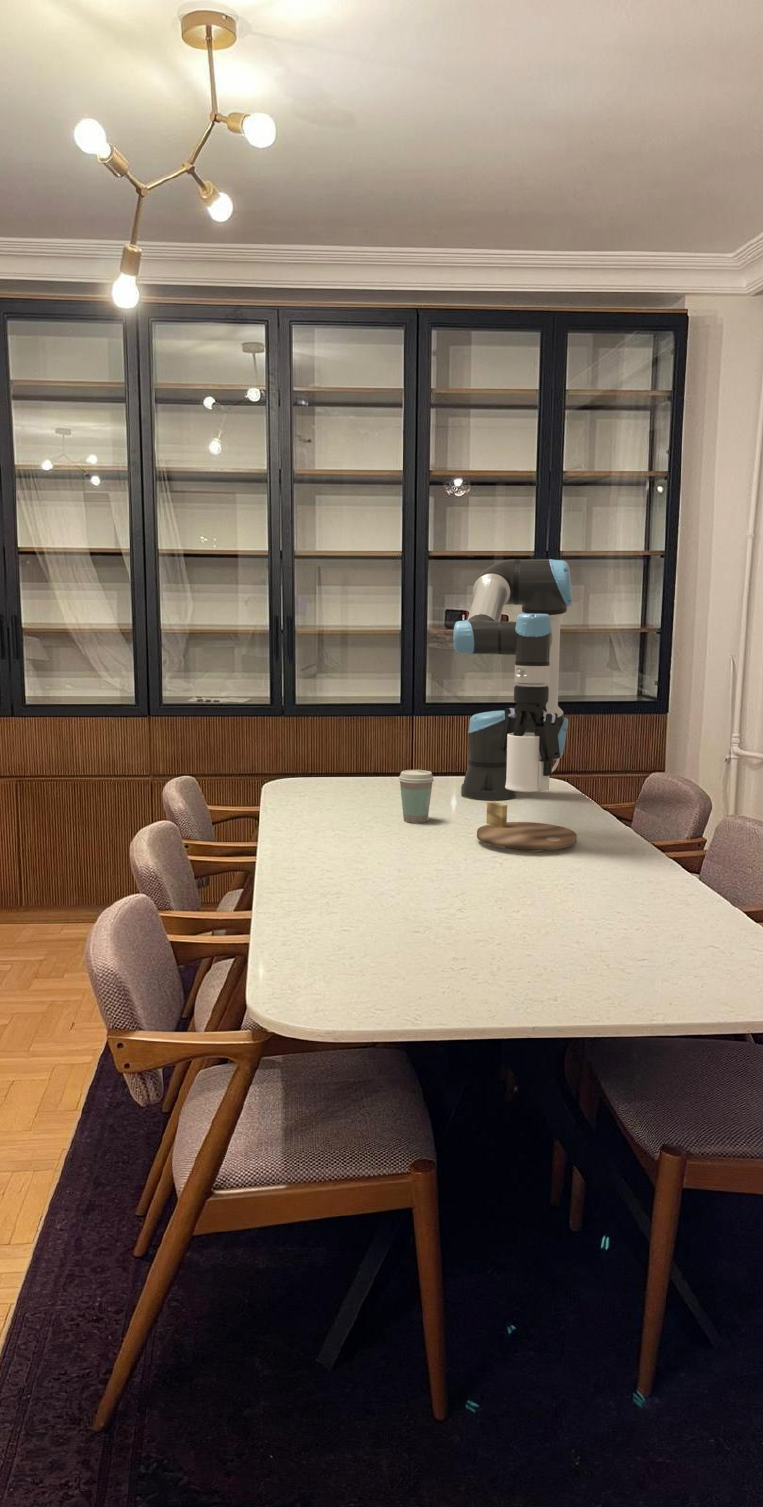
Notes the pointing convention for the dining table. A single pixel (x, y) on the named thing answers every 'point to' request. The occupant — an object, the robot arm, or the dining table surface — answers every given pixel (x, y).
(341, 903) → the dining table surface
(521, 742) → the mug
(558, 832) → the turntable
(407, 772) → the coffee cup
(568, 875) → the dining table surface
